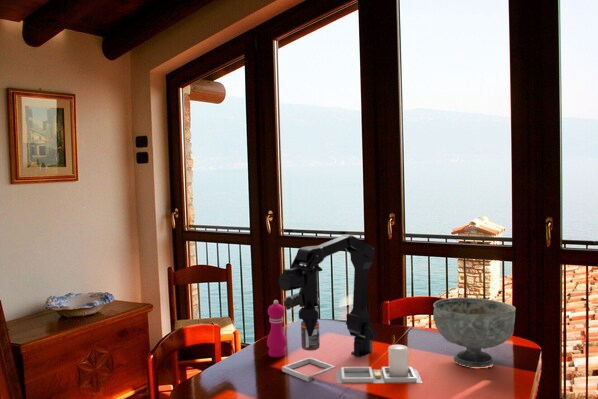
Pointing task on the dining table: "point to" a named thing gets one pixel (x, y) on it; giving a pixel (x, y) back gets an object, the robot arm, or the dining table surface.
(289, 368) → the white square frame
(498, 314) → the decorative bowl
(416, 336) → the dining table surface
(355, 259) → the robot arm
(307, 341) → the supplement bottle
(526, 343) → the dining table surface
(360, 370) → the gray rectangular frame
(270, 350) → the pepper mill
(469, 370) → the dining table surface
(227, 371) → the dining table surface
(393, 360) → the white peg
